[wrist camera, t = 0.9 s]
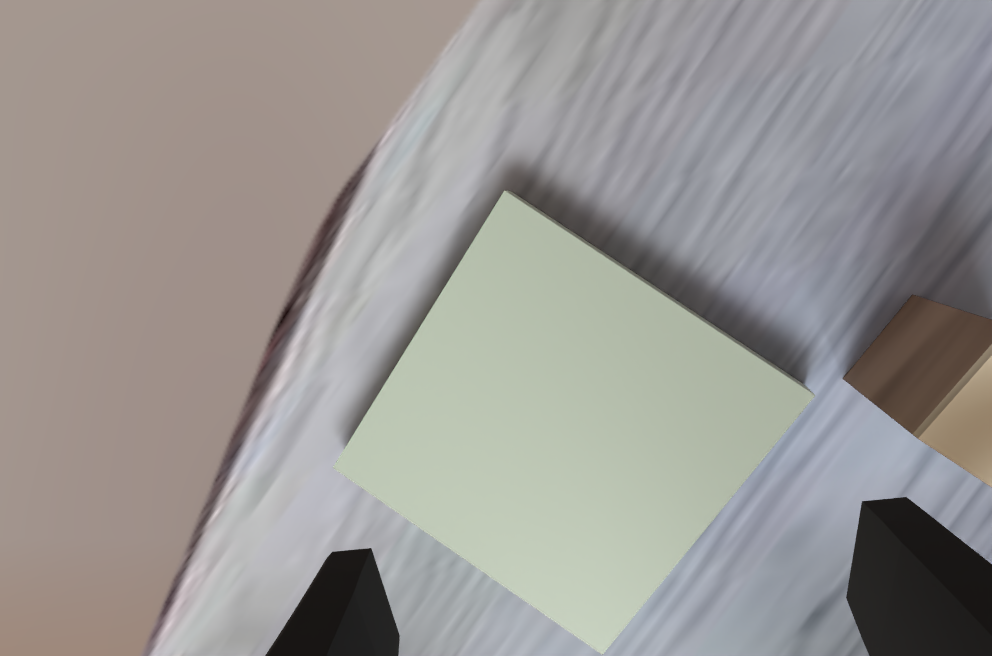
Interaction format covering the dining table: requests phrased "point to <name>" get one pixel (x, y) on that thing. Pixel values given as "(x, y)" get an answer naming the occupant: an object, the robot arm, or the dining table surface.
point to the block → (935, 380)
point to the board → (567, 423)
